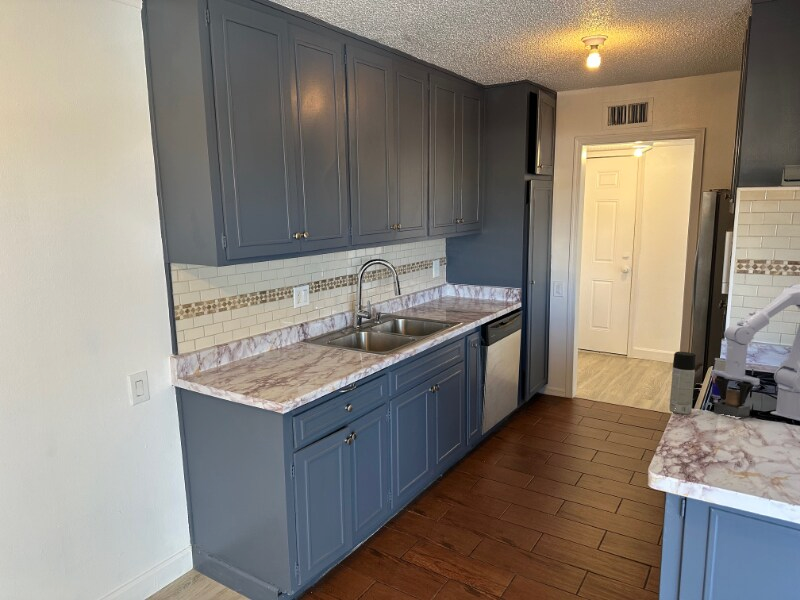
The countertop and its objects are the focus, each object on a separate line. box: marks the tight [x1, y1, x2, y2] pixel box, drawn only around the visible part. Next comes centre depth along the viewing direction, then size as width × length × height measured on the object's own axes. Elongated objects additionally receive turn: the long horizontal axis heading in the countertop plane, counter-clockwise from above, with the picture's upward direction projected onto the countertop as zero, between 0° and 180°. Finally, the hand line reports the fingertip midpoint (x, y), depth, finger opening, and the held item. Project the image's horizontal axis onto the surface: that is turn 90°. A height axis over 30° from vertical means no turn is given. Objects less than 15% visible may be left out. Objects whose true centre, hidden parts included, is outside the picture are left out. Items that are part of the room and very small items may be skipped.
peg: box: [724, 389, 740, 407], centre depth 186 cm, size 4×4×8 cm
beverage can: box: [711, 357, 729, 400], centre depth 206 cm, size 5×5×15 cm
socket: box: [713, 400, 751, 418], centre depth 186 cm, size 8×8×4 cm
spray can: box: [669, 351, 697, 415], centre depth 187 cm, size 7×7×20 cm
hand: (732, 401), depth 186 cm, fingers open, 5 cm apart
